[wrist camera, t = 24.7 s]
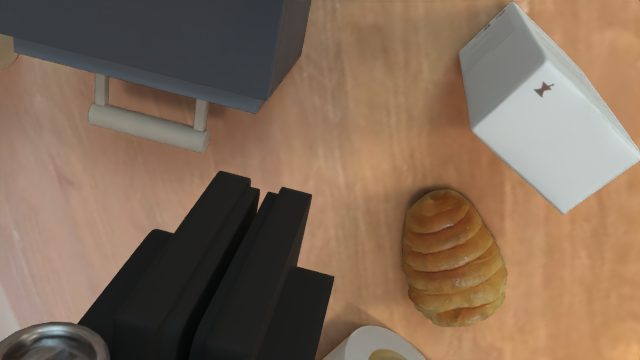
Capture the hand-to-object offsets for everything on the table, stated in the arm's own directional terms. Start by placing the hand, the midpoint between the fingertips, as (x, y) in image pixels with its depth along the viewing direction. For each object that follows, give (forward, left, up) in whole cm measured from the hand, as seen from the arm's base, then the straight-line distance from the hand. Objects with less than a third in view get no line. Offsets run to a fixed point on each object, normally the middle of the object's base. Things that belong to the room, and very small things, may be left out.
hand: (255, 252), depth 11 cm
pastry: (+16, +9, -27) cm, 33 cm away
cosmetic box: (+2, +9, -27) cm, 29 cm away
